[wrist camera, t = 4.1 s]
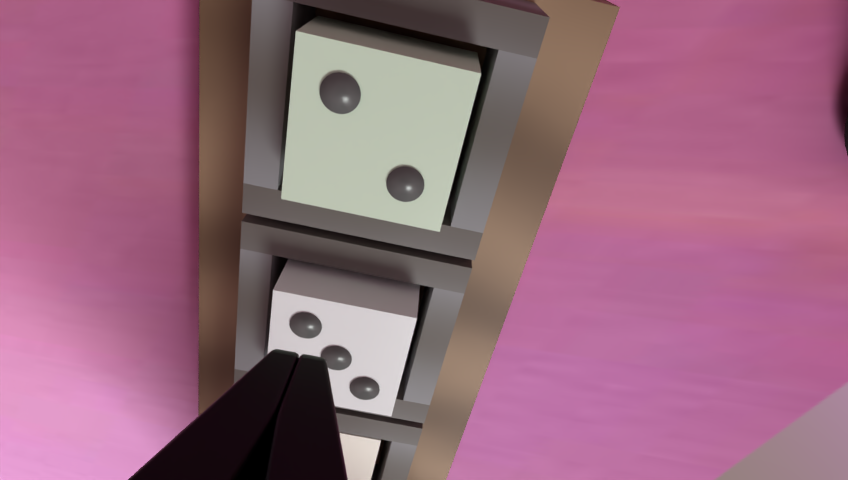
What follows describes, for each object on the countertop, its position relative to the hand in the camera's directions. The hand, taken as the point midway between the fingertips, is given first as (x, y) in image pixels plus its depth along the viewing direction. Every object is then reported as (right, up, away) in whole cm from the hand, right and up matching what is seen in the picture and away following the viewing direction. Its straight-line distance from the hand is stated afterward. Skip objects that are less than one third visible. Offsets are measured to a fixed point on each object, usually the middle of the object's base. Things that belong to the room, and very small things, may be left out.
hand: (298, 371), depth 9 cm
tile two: (+1, +6, +7) cm, 9 cm away
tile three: (-1, 0, +11) cm, 11 cm away
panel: (-1, +1, +14) cm, 14 cm away
